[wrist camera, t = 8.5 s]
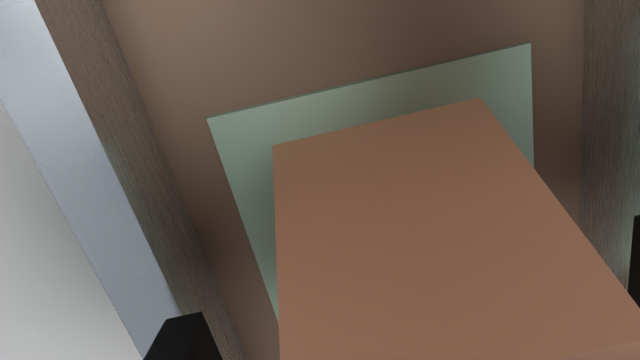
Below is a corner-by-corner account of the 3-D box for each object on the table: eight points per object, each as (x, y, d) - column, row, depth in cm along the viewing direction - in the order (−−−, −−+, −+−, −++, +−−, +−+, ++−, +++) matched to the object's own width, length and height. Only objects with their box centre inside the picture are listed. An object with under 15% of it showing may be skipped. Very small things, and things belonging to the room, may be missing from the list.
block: (480, 97, 11) (660, 335, 6) (492, 258, 13) (635, 535, 8) (272, 145, 11) (282, 416, 6) (316, 297, 14) (351, 591, 8)
